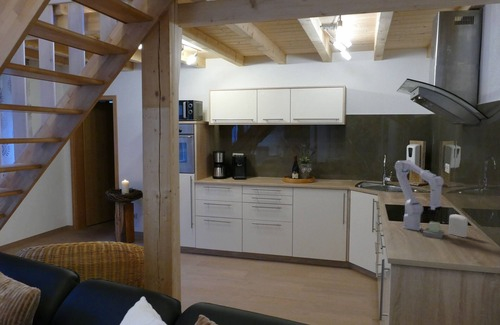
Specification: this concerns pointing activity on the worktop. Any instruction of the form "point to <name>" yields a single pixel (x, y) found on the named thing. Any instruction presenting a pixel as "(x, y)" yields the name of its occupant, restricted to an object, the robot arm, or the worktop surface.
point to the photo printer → (458, 225)
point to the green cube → (434, 226)
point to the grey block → (433, 233)
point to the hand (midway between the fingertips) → (434, 219)
